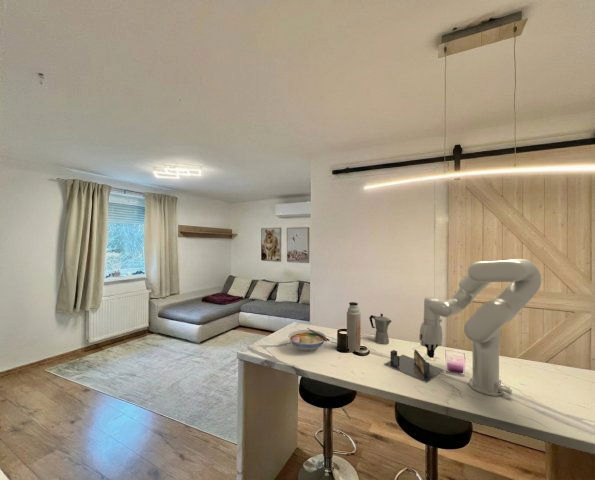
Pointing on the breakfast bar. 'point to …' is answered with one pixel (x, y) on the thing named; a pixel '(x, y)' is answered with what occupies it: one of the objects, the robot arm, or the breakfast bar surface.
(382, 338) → the coffeepot
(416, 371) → the gate frame
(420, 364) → the gate
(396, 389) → the breakfast bar surface
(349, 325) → the thermos bottle
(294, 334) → the ramen bowl
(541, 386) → the breakfast bar surface
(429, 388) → the breakfast bar surface
